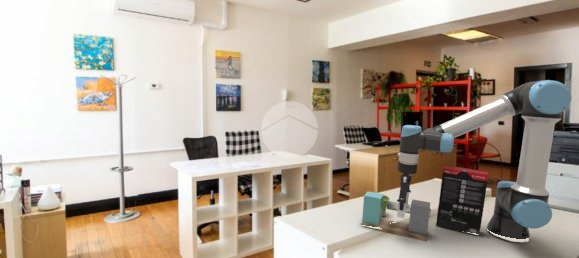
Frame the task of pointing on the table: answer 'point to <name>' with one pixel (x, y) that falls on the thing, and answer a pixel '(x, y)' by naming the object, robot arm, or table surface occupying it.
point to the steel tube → (394, 207)
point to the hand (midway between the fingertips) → (402, 211)
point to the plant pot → (384, 204)
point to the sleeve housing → (419, 217)
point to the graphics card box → (462, 199)
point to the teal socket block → (372, 208)
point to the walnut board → (396, 229)
